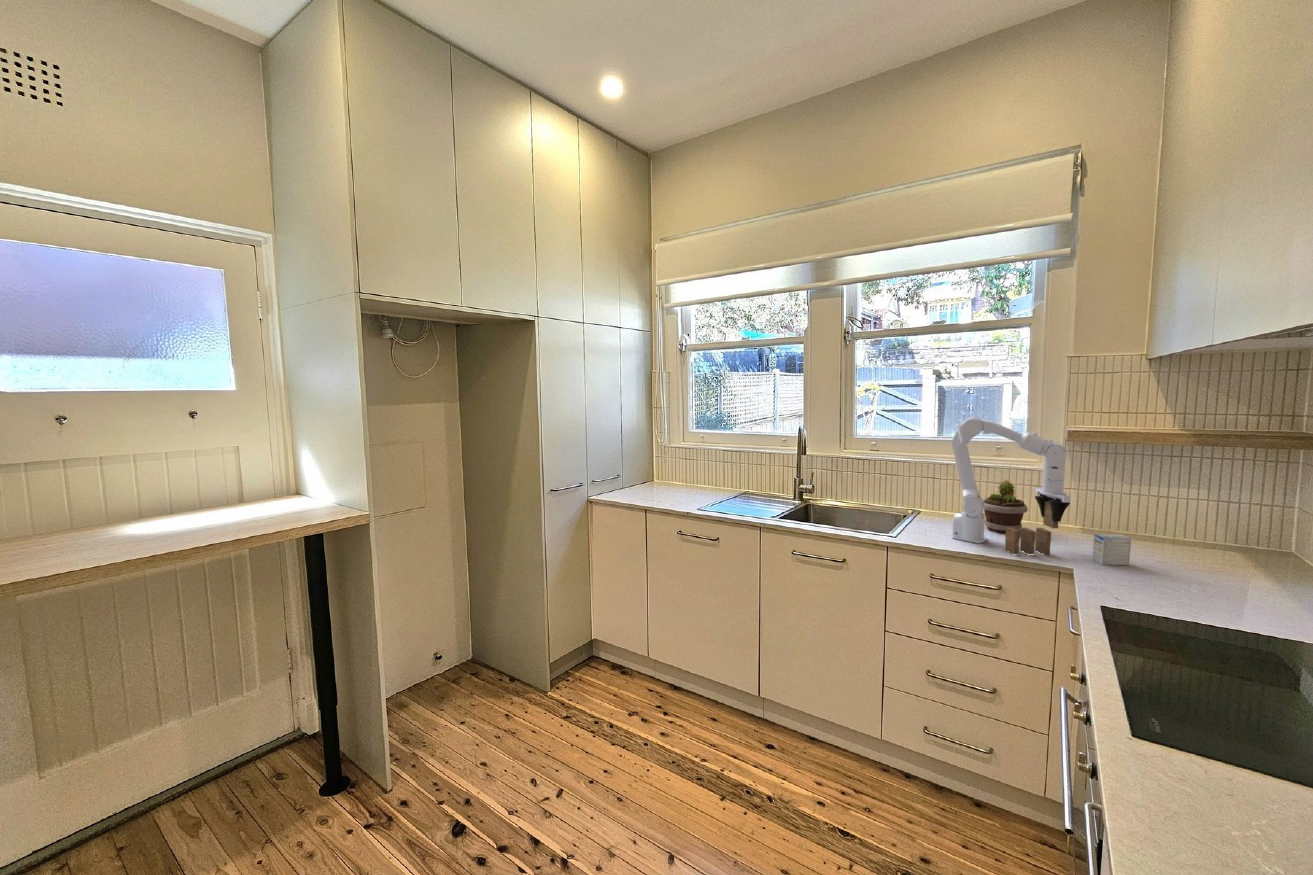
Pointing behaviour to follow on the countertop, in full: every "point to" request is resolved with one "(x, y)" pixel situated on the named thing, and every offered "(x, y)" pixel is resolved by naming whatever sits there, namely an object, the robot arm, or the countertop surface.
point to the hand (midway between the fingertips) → (1050, 519)
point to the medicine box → (1111, 549)
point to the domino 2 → (1027, 540)
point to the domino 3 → (1043, 541)
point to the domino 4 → (1048, 516)
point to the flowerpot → (1004, 509)
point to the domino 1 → (1012, 540)
